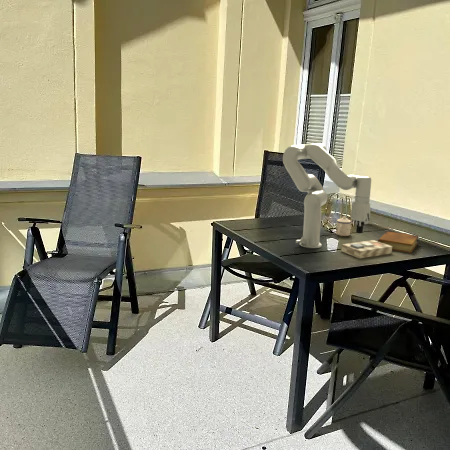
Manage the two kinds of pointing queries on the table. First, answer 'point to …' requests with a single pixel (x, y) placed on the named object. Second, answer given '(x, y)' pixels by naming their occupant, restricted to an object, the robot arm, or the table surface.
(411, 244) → the diary
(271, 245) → the table surface
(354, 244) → the key slate
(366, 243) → the key offwhite
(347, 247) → the beige flat block
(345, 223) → the teacup with lid
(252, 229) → the table surface
